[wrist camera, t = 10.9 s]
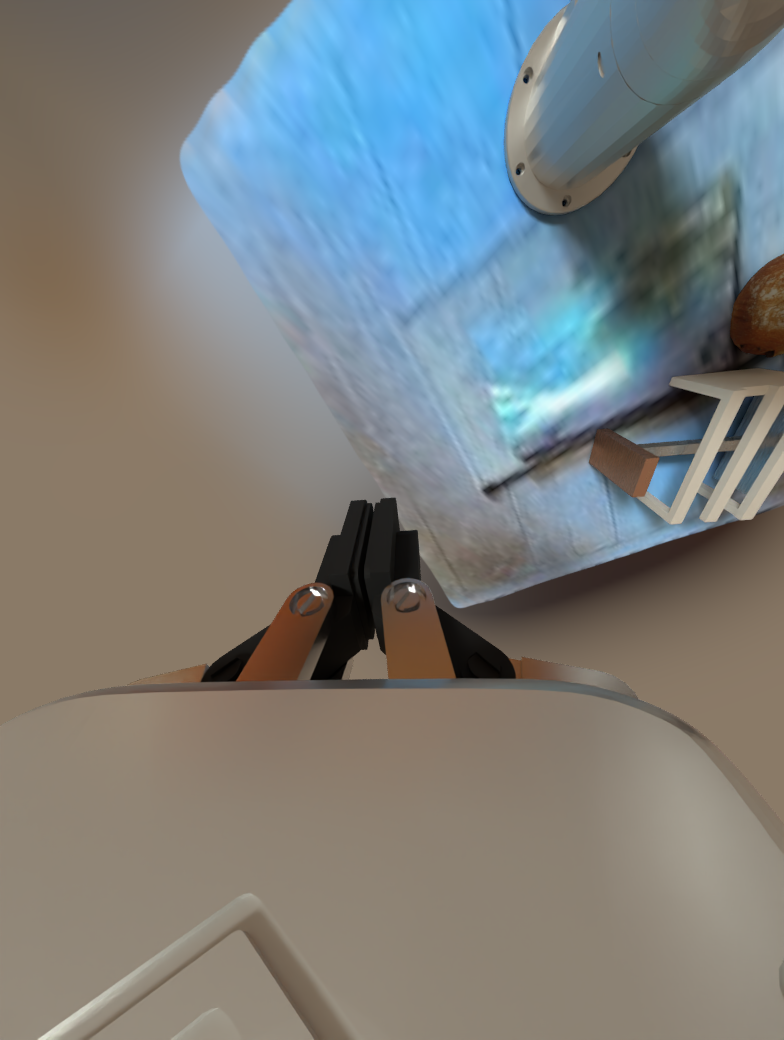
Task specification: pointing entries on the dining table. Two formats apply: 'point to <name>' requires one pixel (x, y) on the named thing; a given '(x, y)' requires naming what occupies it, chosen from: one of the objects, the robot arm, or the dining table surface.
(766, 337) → the bread roll
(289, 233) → the dining table surface
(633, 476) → the rod with wooden block
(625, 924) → the robot arm
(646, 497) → the white slatted rack
